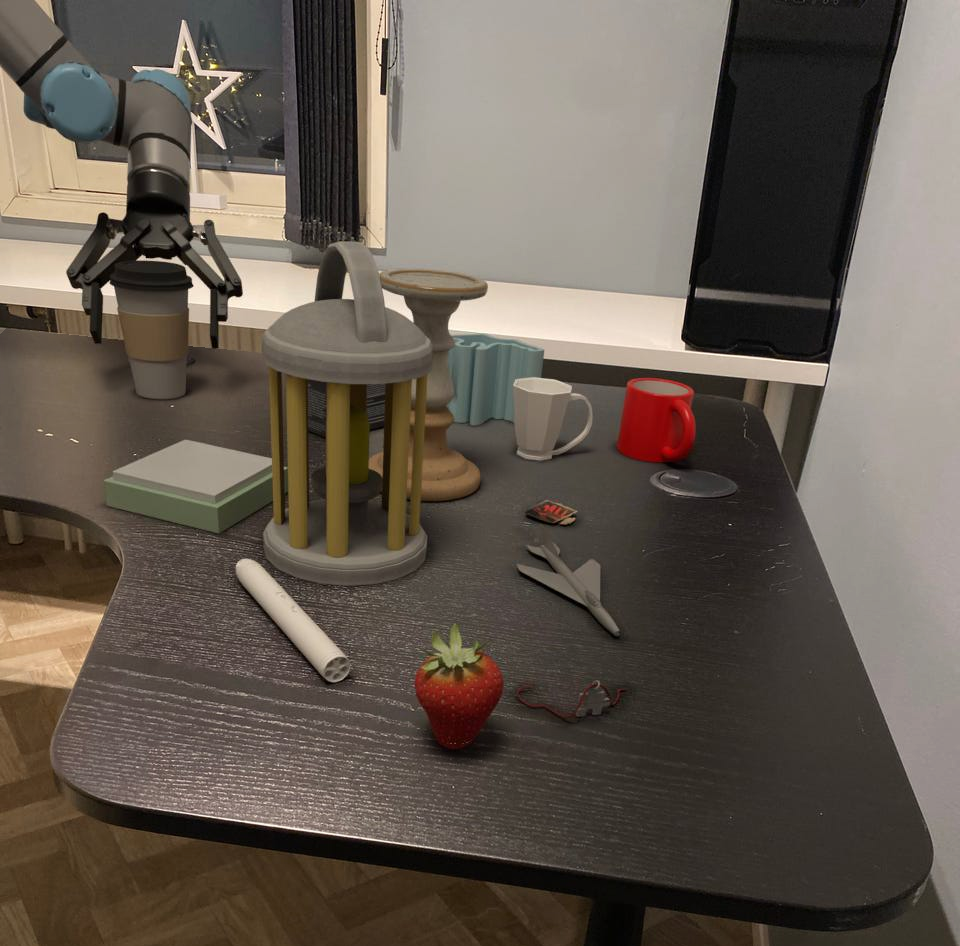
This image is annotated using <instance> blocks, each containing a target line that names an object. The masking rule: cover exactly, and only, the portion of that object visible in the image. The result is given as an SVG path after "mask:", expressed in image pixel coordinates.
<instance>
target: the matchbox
mask: <svg viewBox="0 0 960 946" xmlns="http://www.w3.org/2000/svg"><path fill="white" fill-rule="evenodd" d="M576 513H578V510H576V509H573V508H570V507H569V506H565V505H563V503H558V502H555V501H552V500H549V499H545V500H543V501H542V502H541V501H540V502H539V503H537V504H536V505H534V506H530V507H528V509H527V510H526V511H525V512H524V514H527V515H528V516H530V517H533V518H536V519H538V520H540V521H544V522H546V523H551V524H554V523H558V524H560V525H568V524H569V525H571V524H572V523H573V522H574V521H576V517H574V516H573V515H574V514H576ZM572 516H573V517H572Z"/></svg>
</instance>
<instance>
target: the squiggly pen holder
mask: <svg viewBox="0 0 960 946" xmlns="http://www.w3.org/2000/svg"><path fill="white" fill-rule="evenodd" d="M450 335H451V336H452V337H453V338H454V340H455V346H454V347H453V348H452V349H451V350H449V353H448V354H449V366H450V373H451V378H452V382H453V386H454V397H453V399H452V400H451V402H450V403H448V404H447V405H446V407H447V408H448V409H449V410H450V412H451V413H452V414H453V416H454V422H453V423H459V424H461V423H462V424H463V423H465V424H466V423H468V422H469V425H470V426H474V427H475V426H480V425H483V424H484V423H485V422H486V421H488V420H489V419H492V418H493V419H495V420H505V421H508V422H509V421H510V422H512V423H513V424H514V398H513V384H514V382H515V379H522V378H531V377H537V378H542V375H543V374H542V373H543V366H544V357H545V349H544V348H543V347H539V346H536V345H533V344H529V343H526V342H524V341H521V340H520V339H515V338H514V339H513V338H500V337H497V336H496V337H495V336H492V335H491V334H487V333H469V334H467V333H465V334H450Z"/></svg>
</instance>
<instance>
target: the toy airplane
mask: <svg viewBox="0 0 960 946" xmlns="http://www.w3.org/2000/svg"><path fill="white" fill-rule="evenodd" d="M523 526H525V524H523ZM540 529H541V536H542V544H541V545H540V546H539V547H538V546H533V545H529V544H525V546H526V547H527V549H528V550H529V551H530V553H533V554H535V555H537V556H541V557H542V558H544V559H546V560H547V562H548V563H549V565H550V566H551V567H552V568H553V570H554V571H555V572H552V571H549V570H545V569H540V568H538V567H533V566H529V565H524V564H521V563H516V566H517V569H518V571H519V572H521V573H523V574H524V575H527V576H529V577H530V578H532V579H534V580H536V581H537V582H540V583H542V584H543V585H546V586H547V587H549V588H551V589H553V590H554V591H557V592H559V593H561V594H563V595H564V596H566V597H568V598H570V599H572V600H574V601H576V602H577V603H580V604H582V605H583V606H585V607H586V609H587V610H588V611H589V612H590V614H591V615H592V616H593V617H594V618H595V619H596V620H597V622H599V624H600V625H602V627H604V628H605V630H607V631H608V632H610V633H611V634H612V635H613V636H615V637H619V636H620V635H621V631H620V629H619V627H618V625H617V624H616V622H615V620H614V619H613V617H612V616H611V615H610V614H609V612H608V611H607V610H606V609H605V608H604V607H603V604H602V603H601V567H602V565H601V564H600V563H598V562H597V561H596V560H595V559H593V558H590V559H589V560H587V561H586V562H585V563H583V564H582V565H580V567H578V568H577V569H575V570H574V571H572V570H571V569H570V568H569V566H567V565H566V563H565V562H564V561H563V560H562V559H561V557H560V552H561V549H560V547H558V545H557V544H556V543H555V542H553V541H552V538H551V535H550V534H549V532H548V530H547V529H546V528H545V527H544V526H543V524H540ZM525 530H527V531H528V530H529V528H528V527H525ZM529 534H531V535H533V534H534V532H529ZM536 539H537V540H536ZM538 540H539V538H538V537H536V538H534V540H533V541H534V542H535V543H537V542H538Z"/></svg>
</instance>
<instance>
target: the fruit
mask: <svg viewBox="0 0 960 946" xmlns="http://www.w3.org/2000/svg"><path fill="white" fill-rule="evenodd" d="M449 631H450V632H449V646H448V645H447V644H446V643H445V642H444V641H443V639H442V638H441V636H440V635H439V634H438V631H437V629H435V630H433V633H432V635H431V637H430V643H431V646H432V648H433V649H435V650H437V651H438V652H437V653H436V652H431V651H429V650H427V649H425V647H424V646H423V645H422V644H420V647H421V649H422V650H423V651H424V652H425V653H427V654H428V656H429V657H428V658H426V659H425V661H424V662H423V663H421V665H420V667H419V668H418V670H417V672H416V674H415V677H414V690H415V696H416V698H417V700H418V703H419V704H420V706H421V707H422V709H423V710H424V712H425V713H426V715H427V716H426V717H427V718H428V720H429V723H430V726H431V730H432V732H433V734H434V737H435V739H436V741H437V743H439V744H440V745H441V746H442V747H444V748H446V749H448V750H460V749H463V748H465V747H466V746H468V745H470V744H471V743H472V742H473V741H474V740H475V738H476V737H477V736H478V735H479V733H480V732H481V730H482V728H483V727H484V726H485V724H486V722H487V720H488V719H489V717H490V716H491V715H492V713H493V711H494V710H495V709H496V707H497V705H498V704H499V703H500V700H501V698H502V695H503V692H504V685H505V684H504V683H505V682H504V677H503V674H502V672H501V670H500V668H499V666H498V665H497V664H496V663H495V661H494V660H493V659H492V658H491V657H490V656H488V655H487V654H486V653H484V652H483V651H480V650H481V649H482V648H484V647H485V646H486V645H487V644H488V642H490V639H491V638H488V639H487V640H486V642H484V643H482V644H480V638H478V637H477V638H476V641H475V642H474V645H473V647H471V648H467V647H462V645H463V640H462V639H463V638H462V636H461V633H460V630H459V627H458V623H457V622H456V623H454V624H453V626H452V627H451V628H450V630H449ZM476 735H477V736H476ZM471 740H472V741H471ZM469 741H470V742H469ZM466 742H468V743H466ZM450 743H452V744H450ZM454 743H456V744H454ZM462 743H464V744H462Z"/></svg>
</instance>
